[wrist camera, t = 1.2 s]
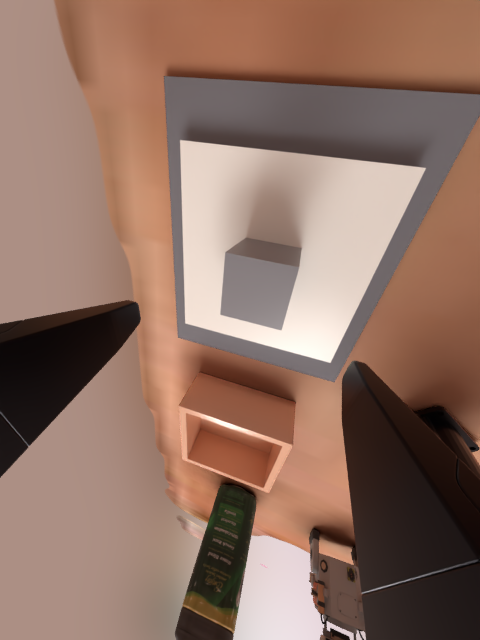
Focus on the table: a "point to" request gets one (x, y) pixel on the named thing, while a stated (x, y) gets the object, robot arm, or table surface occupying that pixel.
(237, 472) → the open box
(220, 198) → the lid
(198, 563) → the coffee jar
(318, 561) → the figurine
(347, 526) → the table surface
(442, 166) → the mat
